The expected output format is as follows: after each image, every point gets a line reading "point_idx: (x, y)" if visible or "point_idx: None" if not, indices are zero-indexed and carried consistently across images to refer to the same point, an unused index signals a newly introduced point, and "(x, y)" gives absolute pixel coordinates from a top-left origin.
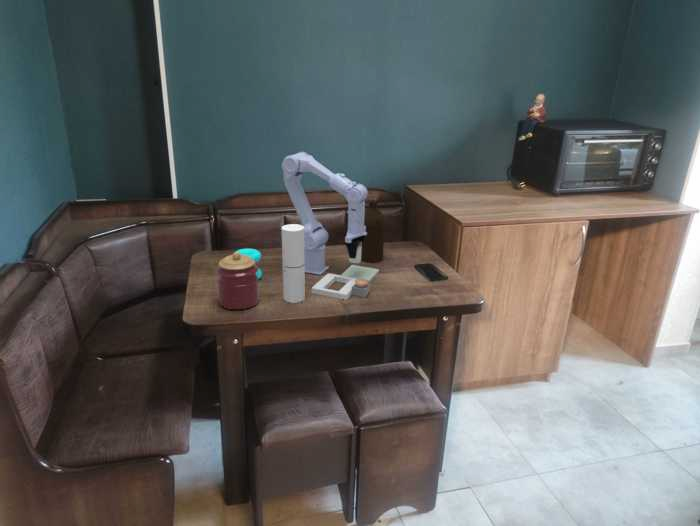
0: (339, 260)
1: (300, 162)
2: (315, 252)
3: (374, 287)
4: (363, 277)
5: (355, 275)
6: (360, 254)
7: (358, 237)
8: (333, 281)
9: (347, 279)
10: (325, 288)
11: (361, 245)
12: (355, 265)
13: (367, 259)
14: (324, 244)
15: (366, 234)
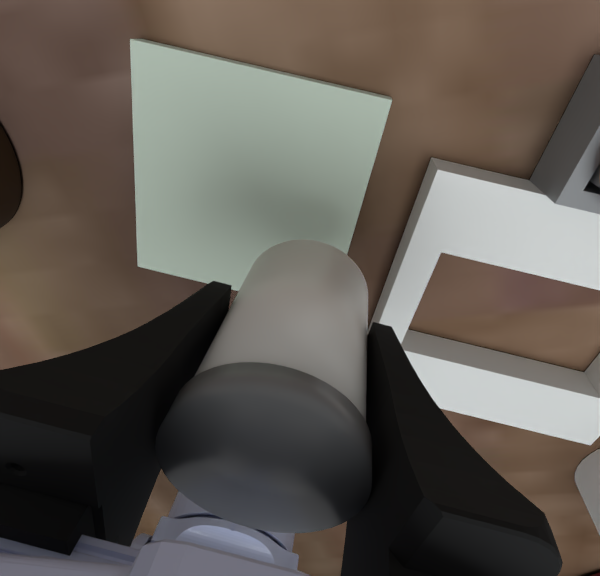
0: (86, 333)
1: None
2: (288, 545)
3: (488, 26)
4: (340, 158)
5: (315, 223)
6: (318, 291)
7: (127, 481)
8: (425, 340)
9: (430, 272)
10: (547, 371)
11: (294, 370)
12: (139, 244)
13: (2, 174)
14: (180, 540)
15: (221, 558)
